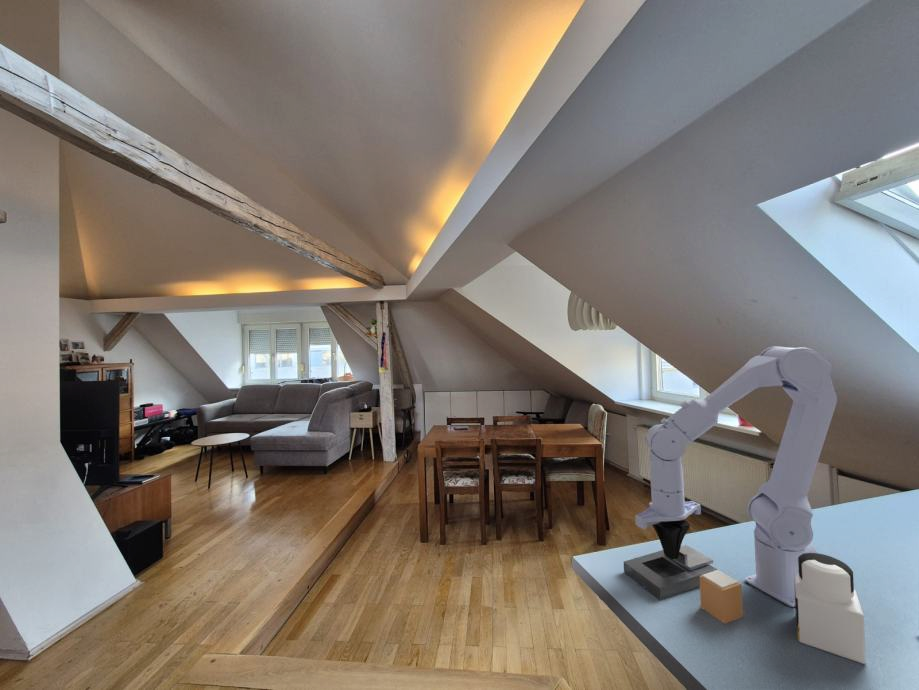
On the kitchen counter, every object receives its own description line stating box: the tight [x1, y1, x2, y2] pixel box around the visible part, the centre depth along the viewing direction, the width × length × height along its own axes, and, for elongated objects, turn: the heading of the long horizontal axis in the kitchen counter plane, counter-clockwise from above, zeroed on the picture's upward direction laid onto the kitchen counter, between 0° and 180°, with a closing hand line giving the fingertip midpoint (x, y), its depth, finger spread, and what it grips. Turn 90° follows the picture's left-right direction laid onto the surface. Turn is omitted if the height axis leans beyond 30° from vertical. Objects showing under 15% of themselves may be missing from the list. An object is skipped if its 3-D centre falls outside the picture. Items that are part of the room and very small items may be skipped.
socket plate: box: [623, 549, 718, 601], centre depth 75 cm, size 14×9×2 cm, turn 108°
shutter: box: [664, 544, 714, 570], centre depth 76 cm, size 6×6×2 cm
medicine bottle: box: [794, 552, 867, 665], centre depth 58 cm, size 7×7×12 cm
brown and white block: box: [699, 569, 744, 625], centre depth 65 cm, size 4×4×6 cm
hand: (671, 556), depth 75 cm, fingers closed
